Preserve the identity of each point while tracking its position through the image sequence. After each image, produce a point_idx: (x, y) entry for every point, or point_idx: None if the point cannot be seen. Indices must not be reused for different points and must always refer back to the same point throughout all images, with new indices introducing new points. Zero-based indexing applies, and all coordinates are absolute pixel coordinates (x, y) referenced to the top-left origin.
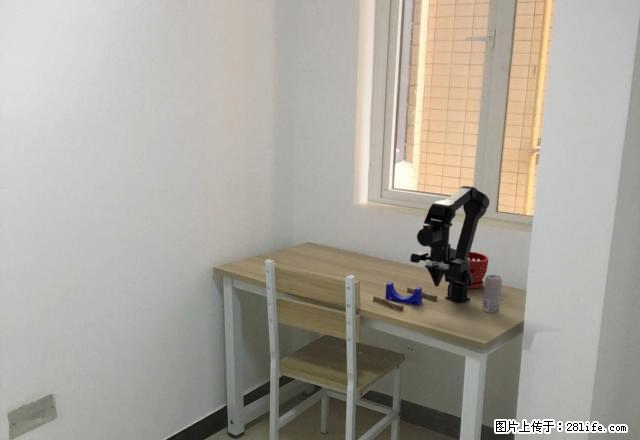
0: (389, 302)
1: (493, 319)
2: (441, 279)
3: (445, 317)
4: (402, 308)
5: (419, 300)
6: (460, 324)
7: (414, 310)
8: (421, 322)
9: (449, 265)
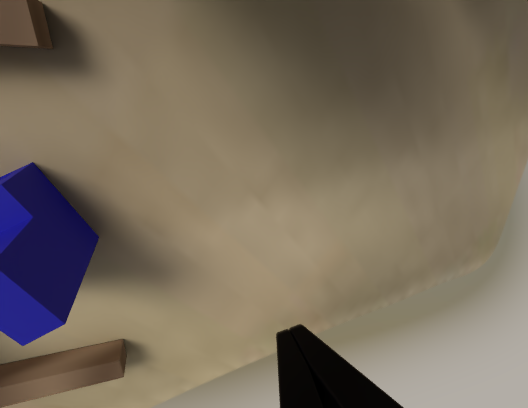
0: (21, 401)
1: (497, 37)
2: (368, 379)
3: (318, 226)
4: (122, 353)
5: (73, 233)
6: (397, 226)
7: (159, 296)
8: None
9: None
